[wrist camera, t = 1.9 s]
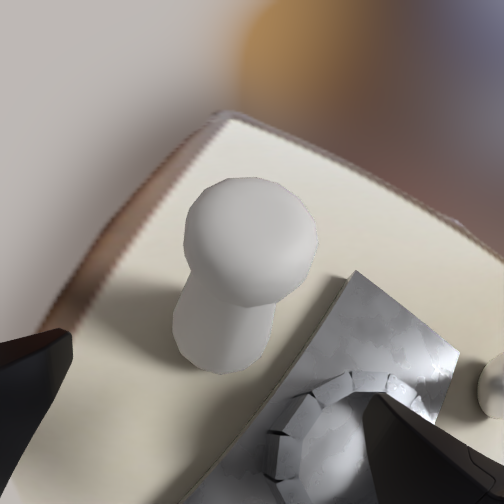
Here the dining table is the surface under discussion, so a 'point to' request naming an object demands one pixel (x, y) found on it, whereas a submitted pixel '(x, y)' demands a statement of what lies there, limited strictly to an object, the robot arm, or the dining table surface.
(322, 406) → the plate with ring
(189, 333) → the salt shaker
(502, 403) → the plastic bottle
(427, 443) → the robot arm
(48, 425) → the dining table surface
